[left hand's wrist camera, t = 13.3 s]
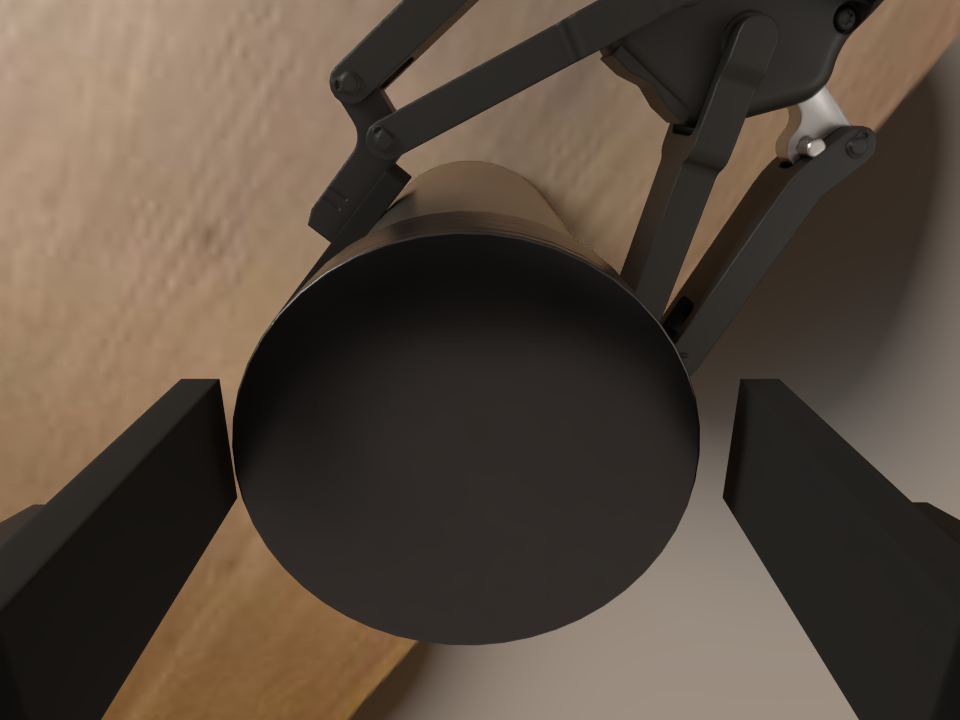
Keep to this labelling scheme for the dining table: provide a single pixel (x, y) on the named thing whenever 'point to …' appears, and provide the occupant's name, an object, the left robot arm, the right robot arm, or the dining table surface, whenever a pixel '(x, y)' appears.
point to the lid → (466, 431)
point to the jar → (470, 195)
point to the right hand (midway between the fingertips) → (389, 389)
